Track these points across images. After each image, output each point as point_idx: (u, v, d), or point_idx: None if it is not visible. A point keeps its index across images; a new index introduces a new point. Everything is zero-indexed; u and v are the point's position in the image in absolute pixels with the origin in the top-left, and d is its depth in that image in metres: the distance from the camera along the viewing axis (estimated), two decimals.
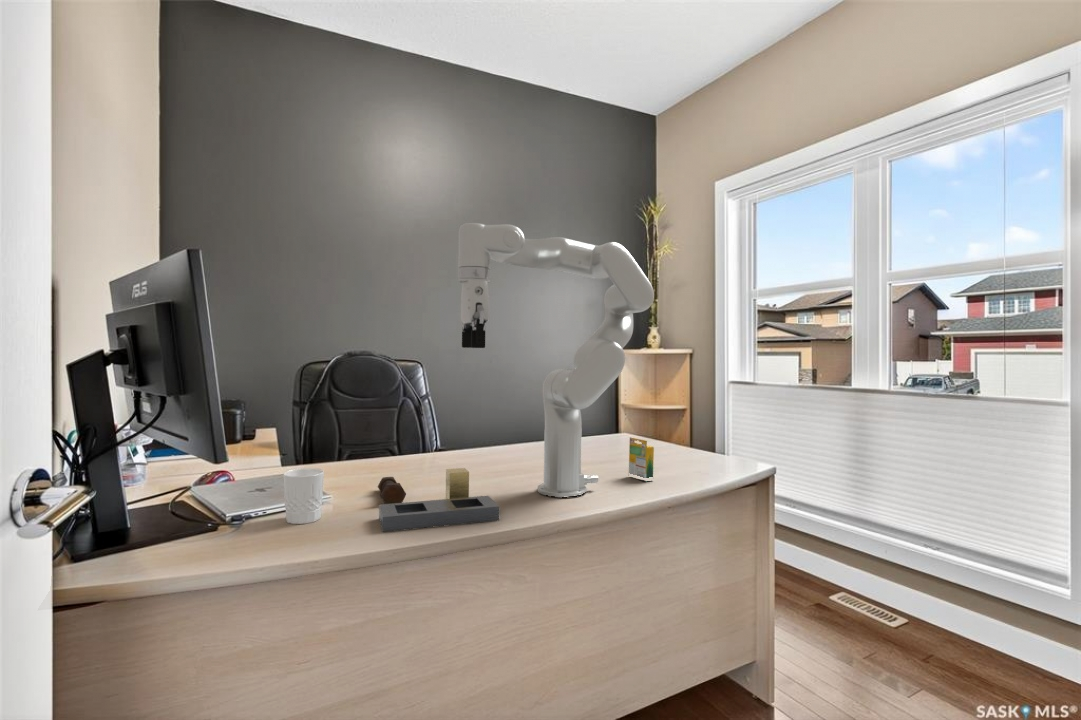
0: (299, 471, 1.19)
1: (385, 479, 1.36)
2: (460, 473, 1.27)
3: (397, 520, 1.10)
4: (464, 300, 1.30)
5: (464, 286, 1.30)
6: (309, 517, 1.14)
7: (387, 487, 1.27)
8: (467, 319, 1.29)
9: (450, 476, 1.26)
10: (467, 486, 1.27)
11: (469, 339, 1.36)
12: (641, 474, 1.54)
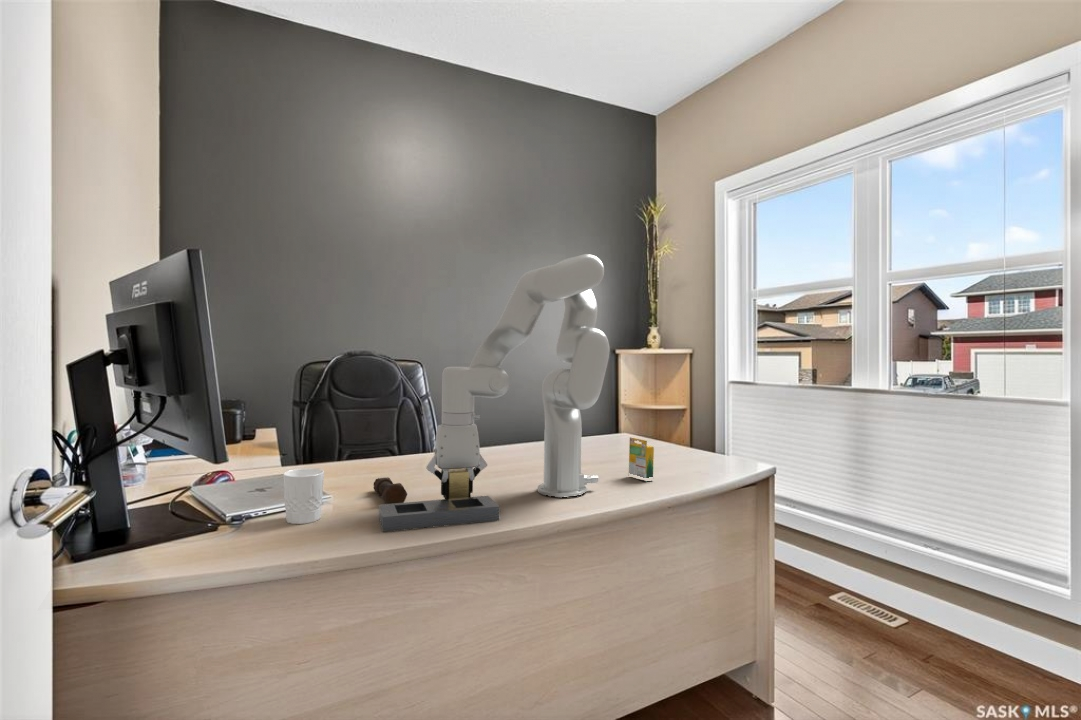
0: (299, 471, 1.19)
1: (381, 480, 1.35)
2: (460, 473, 1.27)
3: (397, 520, 1.10)
4: (463, 446, 1.27)
5: (463, 432, 1.26)
6: (309, 517, 1.14)
7: (389, 488, 1.26)
8: (469, 465, 1.28)
9: (450, 476, 1.26)
10: (467, 486, 1.27)
11: None
12: (641, 474, 1.54)
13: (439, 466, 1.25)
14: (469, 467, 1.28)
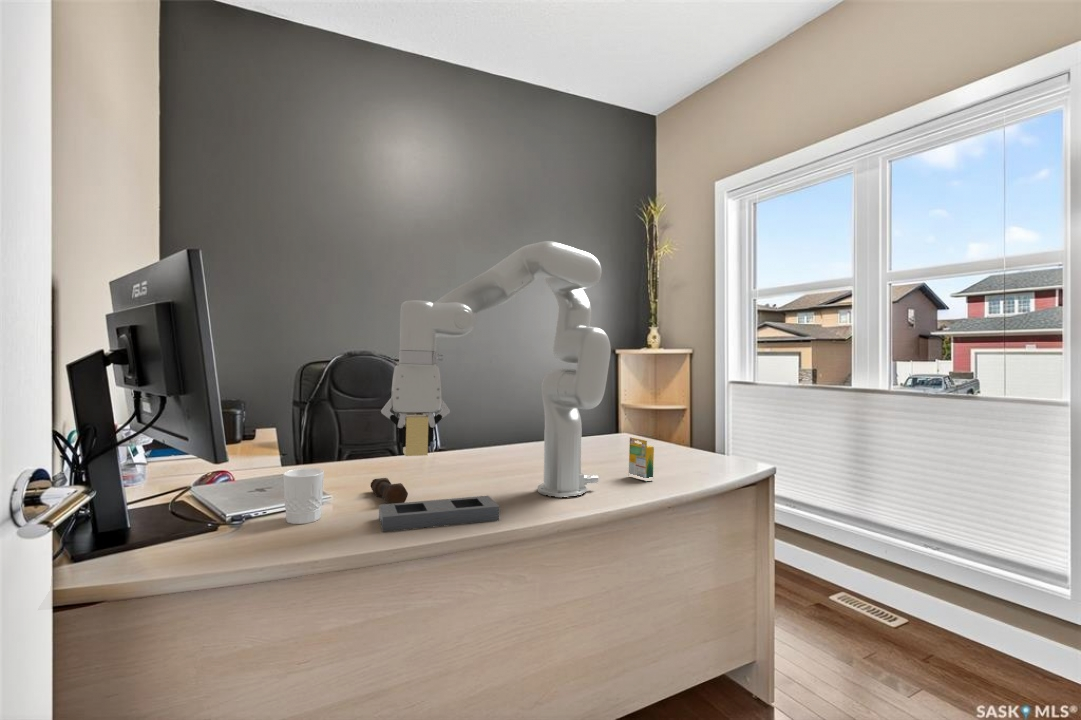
0: (299, 471, 1.19)
1: (380, 480, 1.34)
2: (418, 418, 1.14)
3: (397, 520, 1.10)
4: (422, 388, 1.14)
5: (423, 372, 1.14)
6: (309, 517, 1.14)
7: (390, 488, 1.26)
8: (429, 410, 1.15)
9: (407, 421, 1.13)
10: (426, 433, 1.15)
11: None
12: (641, 474, 1.54)
13: (395, 409, 1.13)
14: (429, 412, 1.15)
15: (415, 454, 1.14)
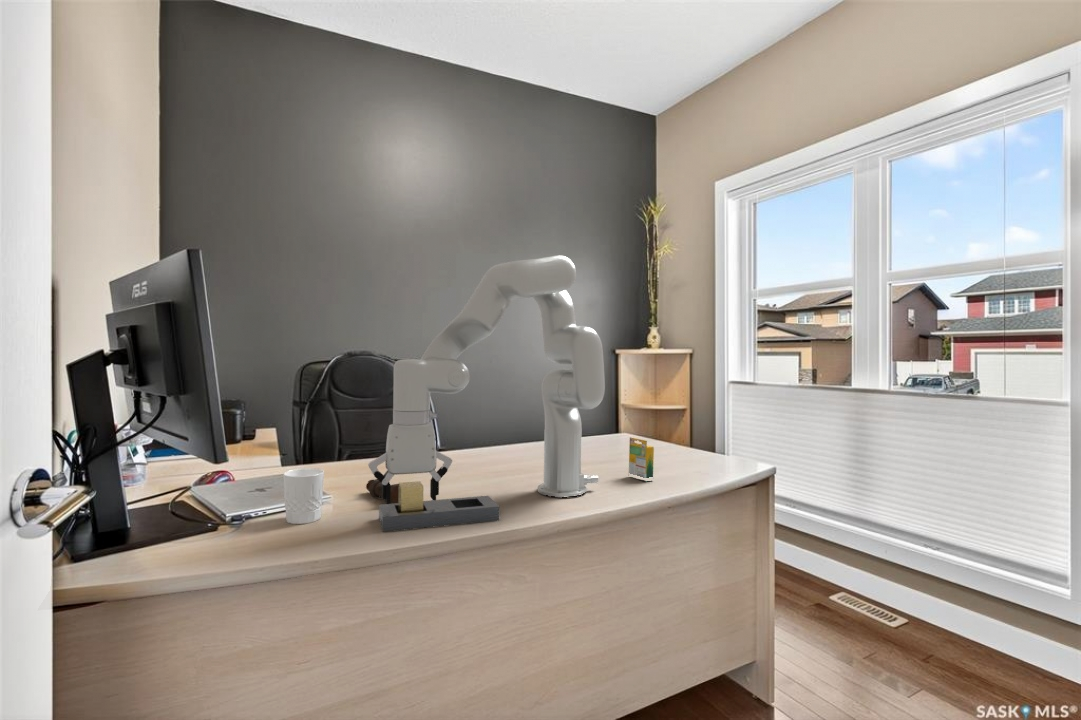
0: (299, 471, 1.19)
1: (377, 481, 1.34)
2: (413, 488, 1.13)
3: (397, 520, 1.10)
4: (417, 448, 1.13)
5: (417, 432, 1.13)
6: (309, 517, 1.14)
7: (391, 488, 1.26)
8: (424, 469, 1.14)
9: (402, 491, 1.12)
10: (421, 502, 1.14)
11: None
12: (641, 474, 1.54)
13: (389, 471, 1.12)
14: (424, 472, 1.14)
15: None
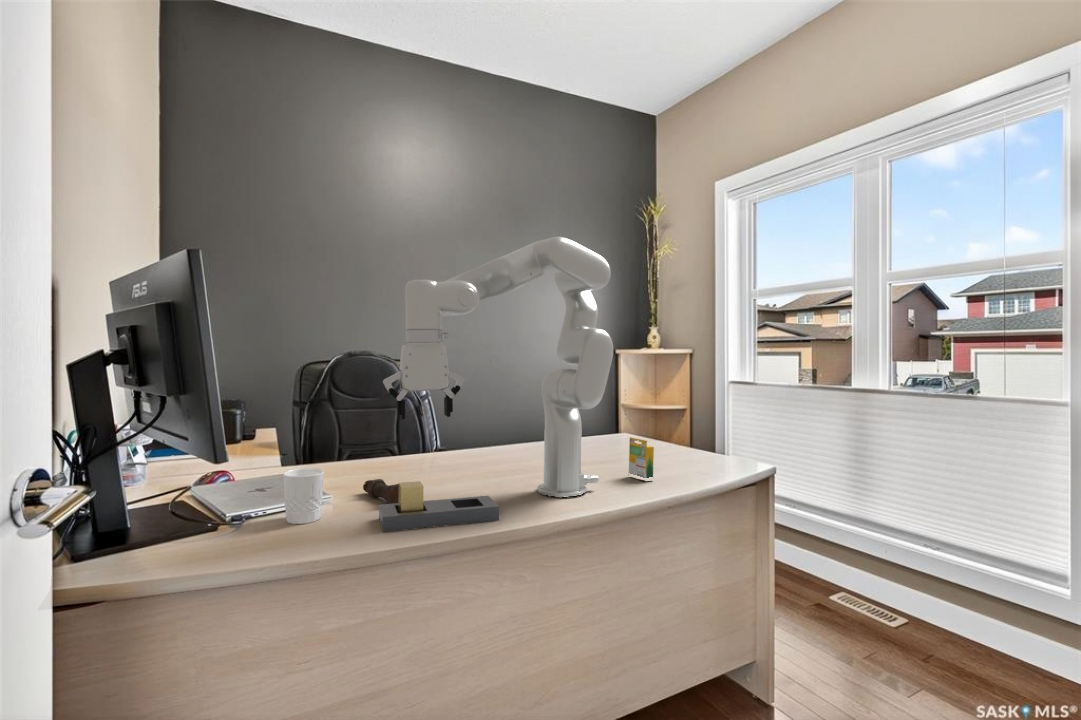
0: (299, 471, 1.19)
1: (375, 482, 1.33)
2: (413, 488, 1.13)
3: (397, 520, 1.10)
4: (430, 366, 1.16)
5: (430, 350, 1.16)
6: (309, 517, 1.14)
7: (392, 488, 1.26)
8: (438, 387, 1.18)
9: (402, 491, 1.12)
10: (421, 502, 1.14)
11: None
12: (641, 474, 1.54)
13: (404, 387, 1.15)
14: (438, 389, 1.18)
15: None
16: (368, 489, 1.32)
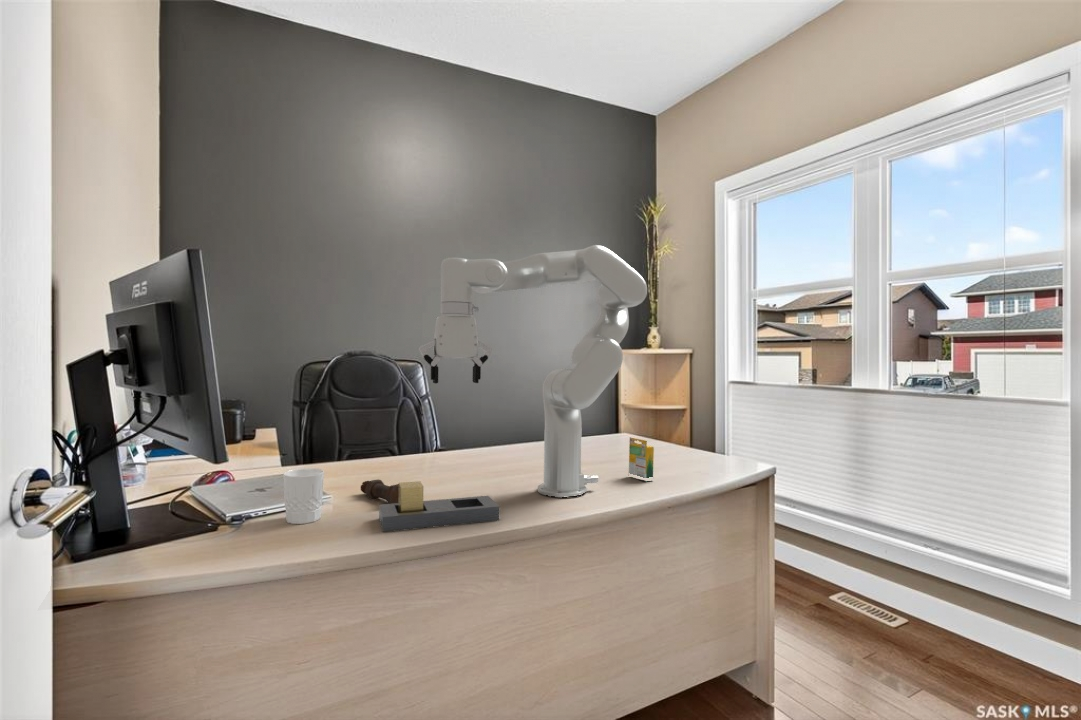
0: (299, 471, 1.19)
1: (374, 482, 1.32)
2: (413, 488, 1.13)
3: (397, 520, 1.10)
4: (462, 335, 1.29)
5: (462, 321, 1.29)
6: (309, 517, 1.14)
7: (394, 489, 1.26)
8: (468, 355, 1.30)
9: (402, 491, 1.12)
10: (421, 502, 1.14)
11: None
12: (641, 474, 1.54)
13: (438, 354, 1.28)
14: (468, 357, 1.30)
15: None
16: (367, 490, 1.32)
